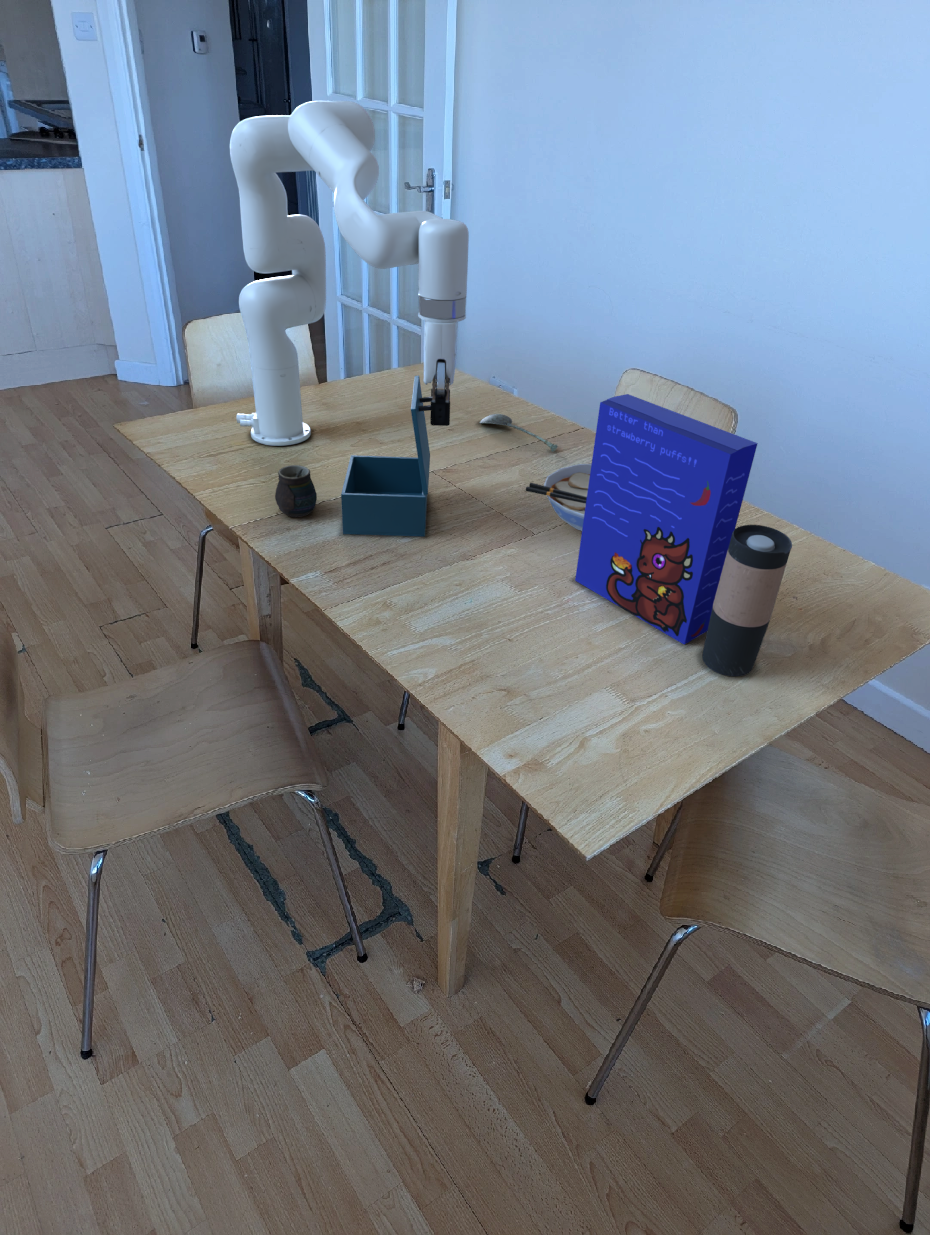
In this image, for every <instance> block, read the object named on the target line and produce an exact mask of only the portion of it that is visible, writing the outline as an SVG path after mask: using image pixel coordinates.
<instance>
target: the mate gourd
mask: <svg viewBox="0 0 930 1235" xmlns="http://www.w3.org/2000/svg"><path fill="white" fill-rule="evenodd" d="M277 475H278V482H277V485H276V489H275V493H274V499H275V503H276V505H277V507H278V510H279V511H280V512H281V513H283V514H284V515H286V516H289V517H290V518H302V517H305V516H308V515H309V514H311V513H312V512H313V511H314V510H315V508H316V504H317V500H318V498H317V497H318V493H317V490H316V488H315V485H314V482H313V479H312V478H311V470H310V469H309V467H307V466H305V465H304V466H303V465H300V464H299V465H298V464H291V465H285V466H283V467H281V468H280V469H279V470H278V471H277Z"/></svg>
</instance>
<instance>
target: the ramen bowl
mask: <svg viewBox="0 0 930 1235" xmlns="http://www.w3.org/2000/svg"><path fill="white" fill-rule="evenodd" d="M591 464H592V463H578V464H573V465H570V466H564V467H561V468H558V469H557V470H555V471H554V472H552V473H550V474H549V475H547V476H546V477H545V481H544V483H543V484H538V483H534V482H529V485H528V486H526V487H525V492H527V493H528V492H529V493H533V494H539V495H542V496H543V495H544V496H546V497H547V500H548V501H549V503H550V505H551V507H552V508H553V510H554V512H555V513H556V515H557V516H558V517H559V518H560V519H561V520H562V521H564V522H565V523H567V524H568V525H569V526H571V527H573V529H575V530H578V531H581V532H582V528H583V521H584V514H585V507H586V500H587V493H588V486H589V478H590V471H591Z"/></svg>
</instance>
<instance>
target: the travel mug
mask: <svg viewBox="0 0 930 1235" xmlns="http://www.w3.org/2000/svg"><path fill="white" fill-rule="evenodd" d="M792 547H793V541H792V540H791V538H790V537H789V536H788V535H787V534H785V533H784V532H782V531H780V530H778V529H776V528H773V527H770V526H767V525H761V524H744V525H740V526H738V527H737V526H736V528H735V530H734V531H733V533H732V536H731V540H730V544H729V547H728V551H727V555H726V558H725V562H724V566H723V570H722V573H721V577H720V581H719V584H718V588H717V592H716V596H715V599H714V603H713V607H712V612H711V616H710V621H709V626H708V630H707V632H706V636H705V640H704V645H703V650H702V655H701V656H702V657H701V658H702V661H703V663H704V664H705V666H706V667H707V668H709V669H710V670H711V671H713V672H715V673H716V674H718V675H722V676H726V677H734V678H736V677H743V676H747V675H748V674H750V673H751V672H752V671H753V668H754V666H755V663H756V662H757V658H758V656H759V652H760V651H761V647H762V644H763V642H764V638H765V635H766V633H767V629H768V628H769V624H770V621H771V618H772V615H773V611H774V608H775V605H776V601H777V599H778V598H777V597H778V594H779V591H780V588H781V584H782V581H783V578H784V574H785V570H786V567H787V564H788V560H789V558H790V554H791V551H792V549H793V548H792Z"/></svg>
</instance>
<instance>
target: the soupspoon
mask: <svg viewBox="0 0 930 1235" xmlns="http://www.w3.org/2000/svg"><path fill="white" fill-rule="evenodd" d="M479 424H489V425H490V424H491V425H498V426H499V425H500V426H507V427H509V428H512V429H516V430H518V431H521V432H523V433H525V434H527V435H529V436H531V437H534V438H535V439H537V440H539V441H540V442H543V443H544V444H545V445H546V446H547V447H549V448H550V451H551V452H553V453H554V452H556V450H557V449H558V448H559V446H558V444H554V443H552V442H550V441H548V440H547V439H544V438H543V437H541V436H539V435H538V434H536V433H533V432H532V431H529V430H527V429H525V428H523V427H521V426H518V425H515V424H513V420H512V418H511V417H510V416H508V415H507V414H502V413H494V414H489V415H486V416H485V417H484V418H482V419H481V420H480V421H479Z"/></svg>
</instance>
